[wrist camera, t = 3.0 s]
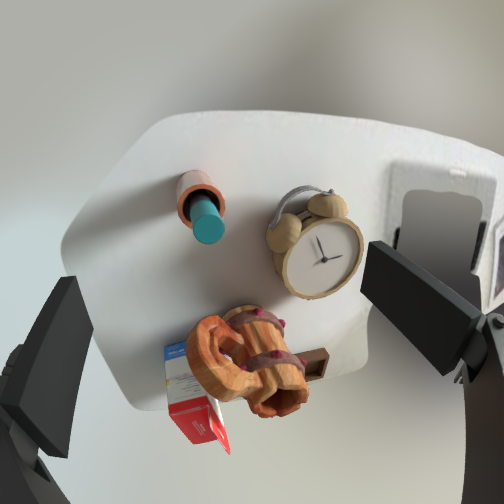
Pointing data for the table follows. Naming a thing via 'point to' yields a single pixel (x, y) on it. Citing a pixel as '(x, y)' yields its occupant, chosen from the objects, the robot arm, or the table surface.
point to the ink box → (191, 400)
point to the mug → (247, 361)
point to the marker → (205, 218)
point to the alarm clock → (315, 245)
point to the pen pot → (191, 183)
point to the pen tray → (314, 363)
